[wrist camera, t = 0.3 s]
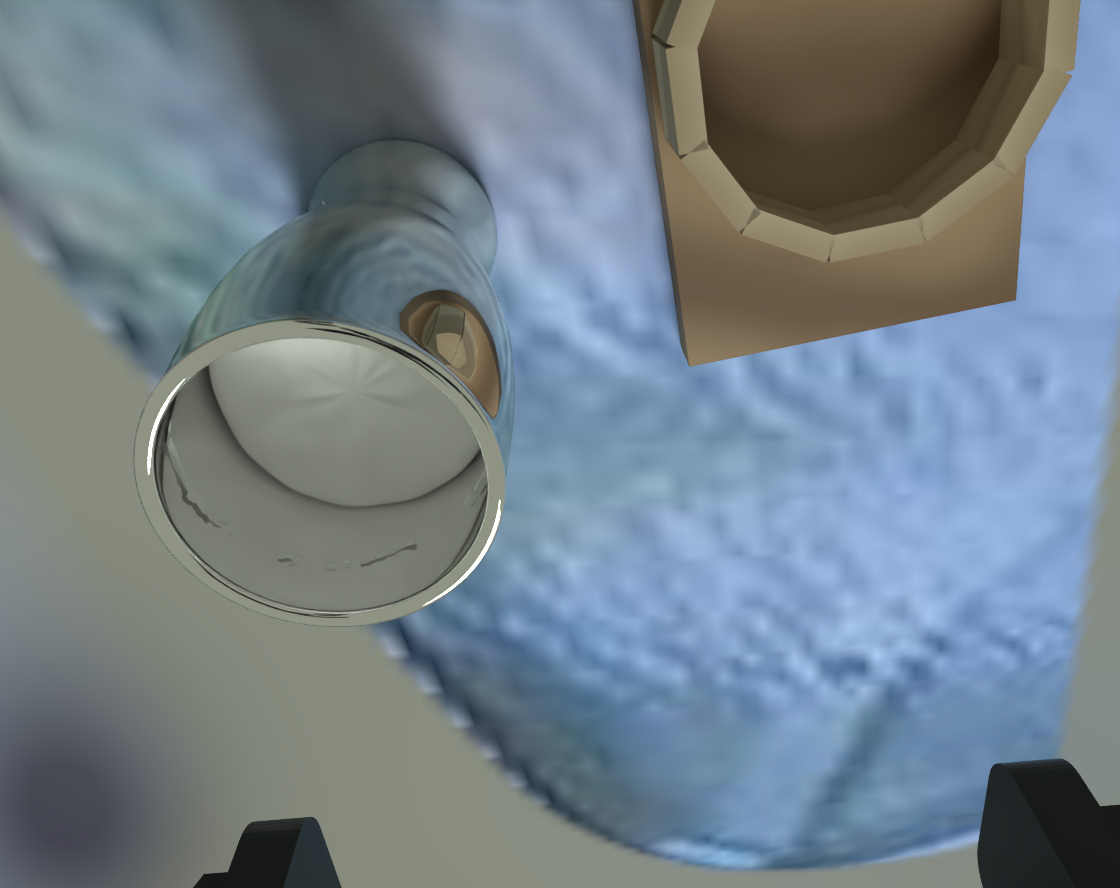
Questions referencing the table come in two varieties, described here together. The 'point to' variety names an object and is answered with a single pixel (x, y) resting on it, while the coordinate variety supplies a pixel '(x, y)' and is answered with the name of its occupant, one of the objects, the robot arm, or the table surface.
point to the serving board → (843, 158)
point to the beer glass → (342, 402)
